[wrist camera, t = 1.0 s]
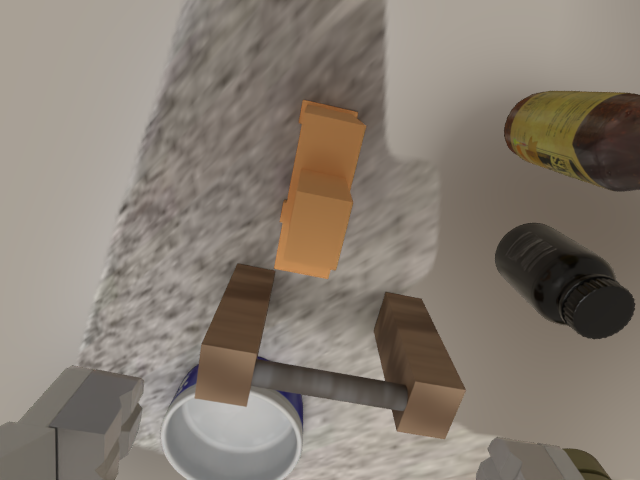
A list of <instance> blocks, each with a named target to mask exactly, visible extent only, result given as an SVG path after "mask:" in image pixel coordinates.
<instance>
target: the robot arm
mask: <svg viewBox="0 0 640 480" xmlns="http://www.w3.org/2000/svg"><path fill="white" fill-rule="evenodd" d="M143 391H144V380H143V379H142V378H138V377H133V376H128V375H123V374H118V373H112V372H107V371H102V370H97V369H96V370H93V369H88V368H83V367H78V366H73V365H72V366H71V367H69V368H67V369H65V370H64V371H63V372H62V373H61V375H60V376H59V377H58V378H57V379H56V380H55V381H54V382H53V383H52V385H51V386H50V387H49V388H48V389H47V390H46V391H45V392H44V394H43V395H42V396H41V397H40V398H39V399H38V400H37V401H36V403H35V404H34V405H33V406H32V407H31V408H30V409H29V410H28V411H27V413H26V414H25V415H24V416H23V417H22V418H21V419H20V420H19V421H18V422H17V423H15V422H7V423H5V424H3V425H1V426H0V480H115V479H116V477H117V475H118V468H119V460H121V459H122V458H123V457H125V456H127V455H128V454H129V451H130V450H131V448H132V446H133V443H134V441H135V438H136V435H137V433H138V430H139V426H140V421H141V416H142V408H141V406H140V405H139V403H138V402H139V400H140V398H141V396H142V394H143ZM488 451H489V454H490V457H489V458H488V459H486V460H485V461H483V462H482V463H481V464H480V466H479V469H478V471H477V474H476V480H585V479H584V478H583V477H582V475H581V474H580V472H579V471H578V469H577V468H576V466H575V465H574V463H573V462H572V461H571V459H570V458H569V456H568V455H567V453H566V452H565V451H564V450H563V449H561V448H560V447H559V446H553V445H546V444H540V443H537V444H536V443H532V442H524V441H519V440H512V439H506V438H500V437H496V438H495V439H494V440H492V442H491V443H490V445H489V447H488Z"/></svg>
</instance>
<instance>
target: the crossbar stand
mask: <svg viewBox="0 0 640 480" xmlns="http://www.w3.org/2000/svg"><path fill="white" fill-rule="evenodd" d="M274 276H275V271H274V270H268V269H263V268H258V267H253V266H248V265H242V264H237V266H236V268H235V270H234V273H233V275H232V277H231V279H230V282H229V284H228V286H227V288H226V291H225V293H224V295H223V297H222V300H221V302H220V304H219V306H218V309H217V311H216V313H215V315H214V318H213V320H212V322H211V324H210V327H209V329H208V331H207V333H206V336H205V338H204V340H203V342H202V345H201V352H200V360H199V367H198V375H197V383H196V390H195V399H201V400H207V401H213V402H219V403H226V404H232V405H238V406H244V407H247V403H248V398H249V394H250V389H251V386H254V387H260V388H266V389H272V390H278V391H284V392H290V393H296V394H302V395H308V396H314V397H320V398H326V399H332V400H338V401H344V402H350V403H356V404H362V405H368V406H374V407H380V408H386V409H392V412H393V417H394V421H395V425H396V430H397V431H398V432H404V433H410V434H416V435H422V436H429V437H435V438H441V439H445V438H446V436H447V433H448V431H449V429H450V426H451V424H452V422H453V419H454V417H455V415H456V412H457V410H458V407H459V405H460V403H461V401H462V398H463V396H464V393H465V392H466V389H465V387H464V385H463V383H462V381H461V379H460V377H459V375H458V373H457V371H456V369H455V367H454V365H453V362H452V361H451V358H450V357H449V354H448V352H447V350H446V349H445V346H444V344H443V342H442V340H441V338H440V336H439V334H438V332H437V330H436V328H435V326H434V324H433V322H432V319H431V317H430V315H429V313H428V311H427V309H426V307H425V305H424V303H423V301H422V299H420V298H414V297H409V296H404V295H399V294H394V293H388V292H386V293H385V296H384V299H383V303H382V306H381V309H380V312H379V315H378V319H377V322H376V325H375V328H374V334H375V339H376V343H377V347H378V352H379V356H380V360H381V365H382V369H383V373H384V378H385V381H381V380H375V379H370V378H364V377H358V376H352V375H346V374H341V373H335V372H329V371H323V370H318V369H312V368H306V367H300V366H294V365H289V364H283V363H277V362H271V361H265V360H260V359H257V357H258V353H259V348H260V343H261V339H262V334H263V330H264V325H265V321H266V316H267V311H268V306H269V301H270V296H271V291H272V286H273V281H274Z"/></svg>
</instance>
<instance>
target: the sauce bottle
mask: <svg viewBox="0 0 640 480" xmlns="http://www.w3.org/2000/svg"><path fill="white" fill-rule="evenodd" d="M504 137H505V140H506V143H507V146H508V147H509V149H510V150H511V151H512V152H514V153H515V154H516V155H518V156H519V157H520V158H522V159H523V160H525V161H527V162H530V163H532V164H535V165H538V166H541V167H544V168H547V169H550V170H553V171H555V172H558V173H561V174H564V175H566V176H569V177H572V178H576V179H578V180H581V181H585V182H588V183H591V184H593V185H596V186H599V187H602V188H605V189H608V190H612V191H631V190H640V95H638V94H631V93H616V92H615V93H614V92H580V91H548V92H541V93H536V94H532V95H530V96H529V97H527V98H525V99H523V100H521V101H520V102H518V103H517V104H516V105H515V107H514V108H513V109H512V110H511V112H510V114H509V115H508V117H507V121H506V123H505V128H504Z"/></svg>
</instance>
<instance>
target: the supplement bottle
mask: <svg viewBox="0 0 640 480" xmlns="http://www.w3.org/2000/svg"><path fill="white" fill-rule="evenodd" d="M495 263H496V267H497V269H498V271H499V273H500V274H501V275H502V276H503V278H504V279H505V280H506V281H507V282H508V283H509V284H510V285H511V286H512V287H513V288H514V289H515V290H516V291H517V292H518V293H519V294H520V295H521V296H522V297H523V298H524V299H525V300H526V301H527V302H528V303H529V304H530V305H531V306H532V307H533V308H534V309H535V310H536V311H537V312H538V313H539V314H540V315H541V316H543V317H544V318H545V319H547V320H548V321H550V322H553V323H556V324H560V325H568V326H570V327H571V328H573V329H574V330H575V331H576V332H577V333H578V334H580V335H582V336H583V337H587V338H592V339H601V338H606V337H608V336H612V335H613V334H615V333H617V332H619V331H620V330H622V329H623V328H624V326H626V325H627V324H628V322H629V321H630V320H631V317H632V316H633V312H634V310H635V308H634V307H635V303H634V298H633V296H632V294H631V293H630V292H629V291H628V290H627V289H626V288H624V287H623V286H621V285H620V284H619V283H618V282H617V281H616V276H615V273H614V271H613V269H612V267H611V266H610V264H609V263H608V262H607V261H605V260H604V259H603V258H601V257H600V256H598V255H597V254H595V253H593V252H592V251H590V250H588V249H587V248H585V247H583V246H582V245H580V244H578V243H577V242H575V241H573V240H572V239H570V238H568V237H566V236H565V235H563V234H561V233H560V232H558V231H556V230H555V229H553V228H551V227H549V226H547V225H545V224H540V223H528V224H523V225H520V226H518V227H516V228H514V229H512V230H511V231H510V232H508V233H507V234H506V235H505V236H504V237H503V238H502V240H501V241H500V243H499V245H498V247H497V250H496V254H495Z"/></svg>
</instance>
